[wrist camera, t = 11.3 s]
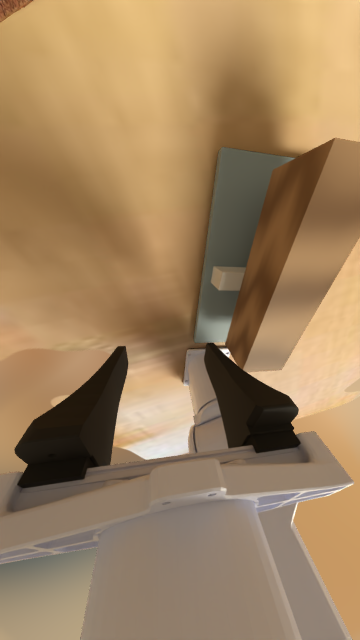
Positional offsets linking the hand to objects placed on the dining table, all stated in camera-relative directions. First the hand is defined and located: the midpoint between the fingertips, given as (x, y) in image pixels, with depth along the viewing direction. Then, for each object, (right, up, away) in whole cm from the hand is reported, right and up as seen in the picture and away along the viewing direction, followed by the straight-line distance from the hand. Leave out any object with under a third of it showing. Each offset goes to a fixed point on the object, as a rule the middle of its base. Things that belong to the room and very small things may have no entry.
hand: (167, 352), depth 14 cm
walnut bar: (+11, +7, +3) cm, 13 cm away
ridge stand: (+10, +9, +7) cm, 15 cm away
